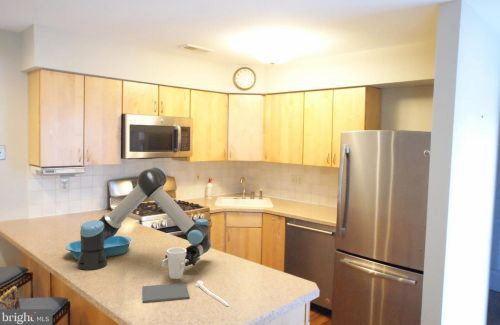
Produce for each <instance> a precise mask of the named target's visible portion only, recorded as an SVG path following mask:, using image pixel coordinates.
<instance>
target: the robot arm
mask: <svg viewBox="0 0 500 325" xmlns="http://www.w3.org/2000/svg"><path fill="white" fill-rule="evenodd" d="M167 177H168V176H167V172H165V170H163V168H160V167H152V168H149V169H144V170H142V171H141V172H140V173H139V175H138V178H137V181H136V182H137V183H136V186H135V187H134V188H133V189H131V191H130V192H129V193H128V194H127V195H126V196H125V197H124V198H123V199H122V200H121V201H120V202H119V203H118V204H117V205H116V206H115V207H114V208H113V209H112V210H111V211H110V212H106V213H104V214H103V215H102V216H101V218H100V219H98V220H96V219H95V220H89V221H85V222H84V223H82V224H81V225H80V231H79V232H80V240H81V253H80V256H79V259H78V260H77V265H76V266H77V269H79V270H84V271H94V270H99V269H102V268H105V267H106V266H107V265H108V257H106V255H105V252H104V241H105V240H107V239H109V238H111V237H113V236H116V235H117V232H119V229H120V228H122V223H123V222H124V221H125V220H126V219H127V218H128V217H129V215H130V214H132V213H133V212H134V211H135V209H137V208H138V207H139V206H140V204H142V202H144V201H145V200H146V198H148V199H149V200H151V199H152V200H153V201H154V202H155V204H156V205H157V206H159V208H160V209H161V210H162V211H163V212H164V213H165V214H166V215H167V216H168V217H169V218H170V219H171V220H172V222H174V223H175V226H177V227H178V228H179V229H180V230H181V231H182V232H183V233H184V235H186V237H187V238H186V239H187V241H188V243H189V244H191V245H189V246H187V247H186V248H185V249H186V257H185V261H184V262H182V263H181V264H180V269H183V268H184V269H185V268H186V267H189V266H191V265H192V266H195V265H196V264H197V262H198V261H199V260H201V256H203V255H204V254H205V253H207V252H208V251H210V250H211V247H212V242H211V241H210V239H209V227H210V222H209V220H208V219H206V218H198V219H196V220H195V221H194V220H193V219H192V218H191V217H190V216H189V215H188V214H187V213H186V212H185V211H184V210H183V208H182V207H181V206H180V205H179V204H178V203H177V202H176V201H175V200H174V199H173V198H172V197H171V196H170V195H169V194H168V193H167V191H166V190H165V189H164V186H165V185H166V183H167V182H168V178H167ZM164 257H165V258H164V259H163V260H161V267H165V266H166V265H168V258H167V254H166V255H164Z"/></svg>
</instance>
